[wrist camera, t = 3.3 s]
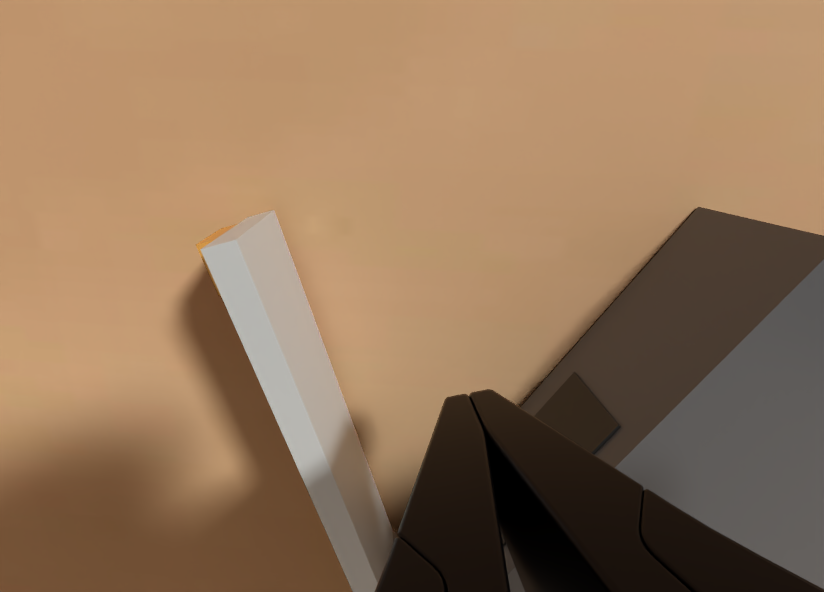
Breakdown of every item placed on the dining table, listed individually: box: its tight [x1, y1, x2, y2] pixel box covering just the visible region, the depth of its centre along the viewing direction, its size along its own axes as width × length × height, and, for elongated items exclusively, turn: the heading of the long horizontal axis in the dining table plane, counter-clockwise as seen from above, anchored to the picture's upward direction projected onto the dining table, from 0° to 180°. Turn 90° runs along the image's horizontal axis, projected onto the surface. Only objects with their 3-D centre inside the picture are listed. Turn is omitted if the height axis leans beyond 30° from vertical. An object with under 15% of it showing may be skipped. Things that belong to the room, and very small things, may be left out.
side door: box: [196, 210, 397, 592], centre depth 10 cm, size 11×1×3 cm, turn 14°
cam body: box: [501, 207, 824, 592], centre depth 12 cm, size 14×8×4 cm, turn 145°
